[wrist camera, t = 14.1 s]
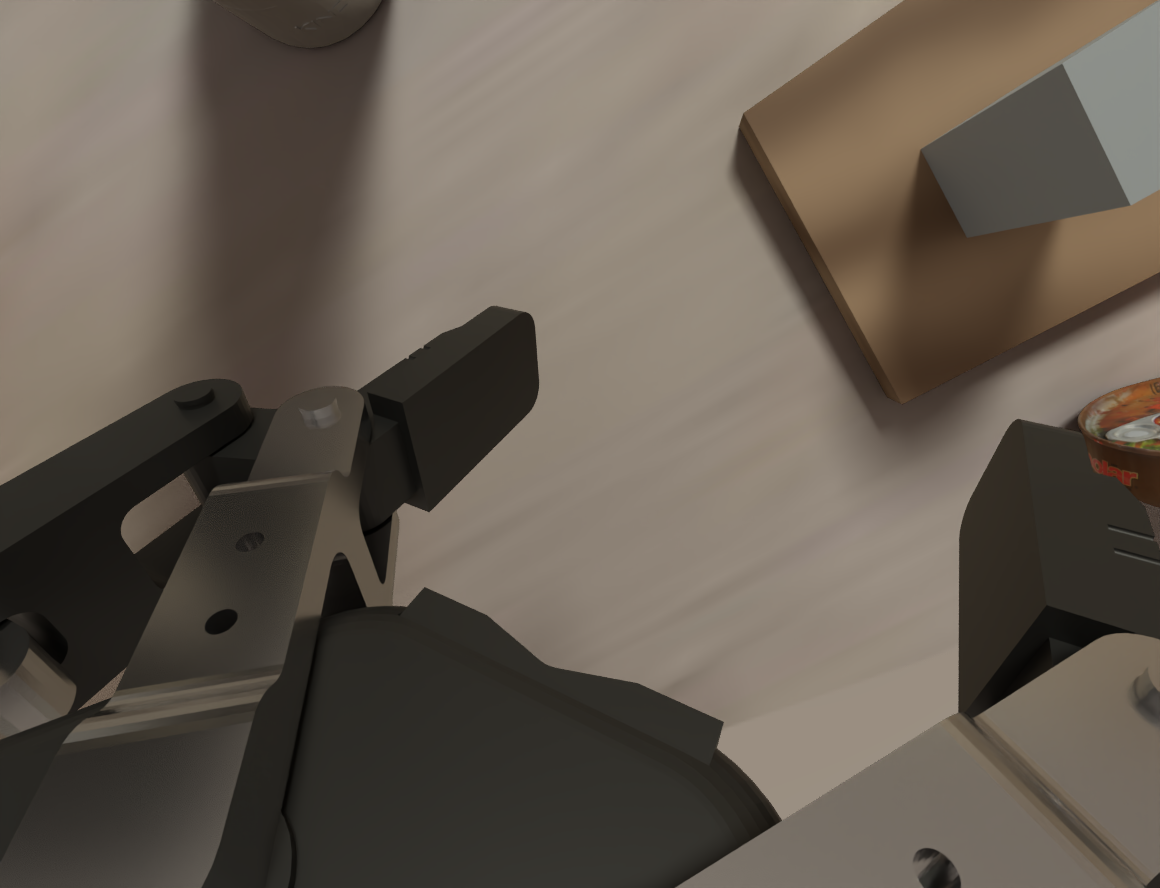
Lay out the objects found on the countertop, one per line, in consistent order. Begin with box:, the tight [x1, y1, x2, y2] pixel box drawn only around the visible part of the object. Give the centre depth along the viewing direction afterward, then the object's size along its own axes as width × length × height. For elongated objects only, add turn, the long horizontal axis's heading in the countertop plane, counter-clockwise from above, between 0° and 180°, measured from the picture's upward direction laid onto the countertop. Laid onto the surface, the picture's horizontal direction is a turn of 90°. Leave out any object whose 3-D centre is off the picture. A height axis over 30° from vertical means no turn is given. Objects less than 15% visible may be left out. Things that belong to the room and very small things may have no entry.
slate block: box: [921, 0, 1160, 238], centre depth 19 cm, size 4×4×9 cm
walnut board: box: [739, 0, 1160, 404], centre depth 24 cm, size 14×14×2 cm
